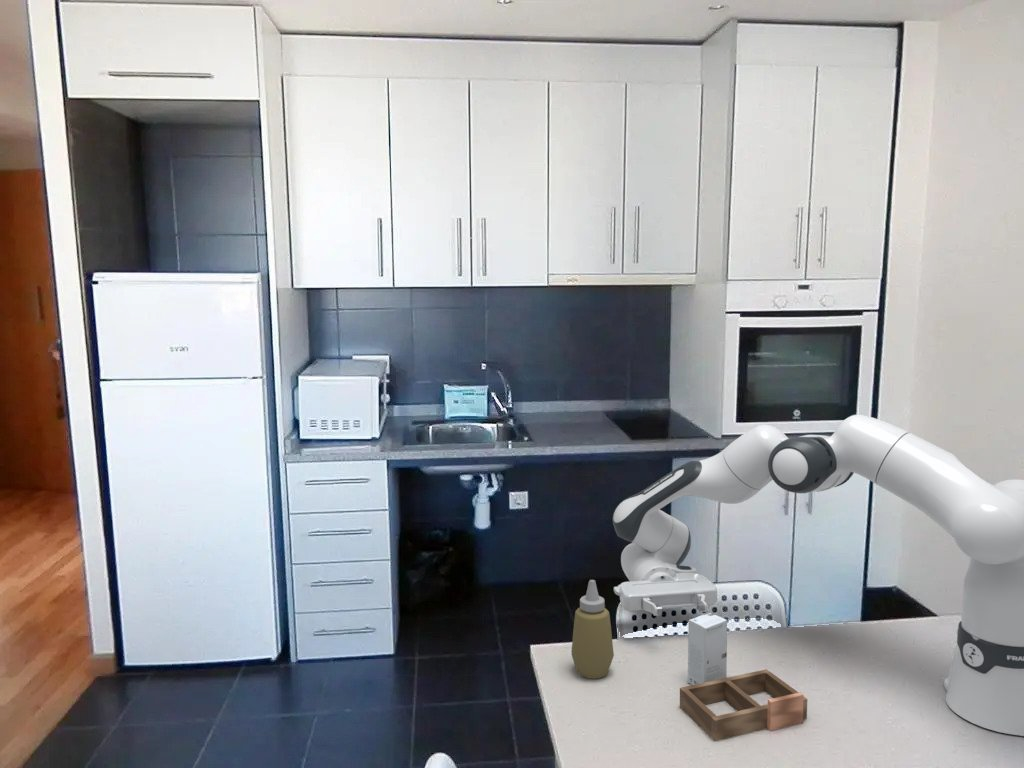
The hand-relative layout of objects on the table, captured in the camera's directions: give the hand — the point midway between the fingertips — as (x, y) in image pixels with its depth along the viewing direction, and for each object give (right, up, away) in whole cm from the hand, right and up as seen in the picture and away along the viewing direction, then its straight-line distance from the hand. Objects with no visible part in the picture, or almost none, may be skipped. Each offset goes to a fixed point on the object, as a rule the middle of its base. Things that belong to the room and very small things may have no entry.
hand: (681, 610), depth 146 cm
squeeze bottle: (-18, -10, -7) cm, 22 cm away
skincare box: (+2, -10, -11) cm, 15 cm away
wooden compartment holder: (+6, -11, -21) cm, 24 cm away
